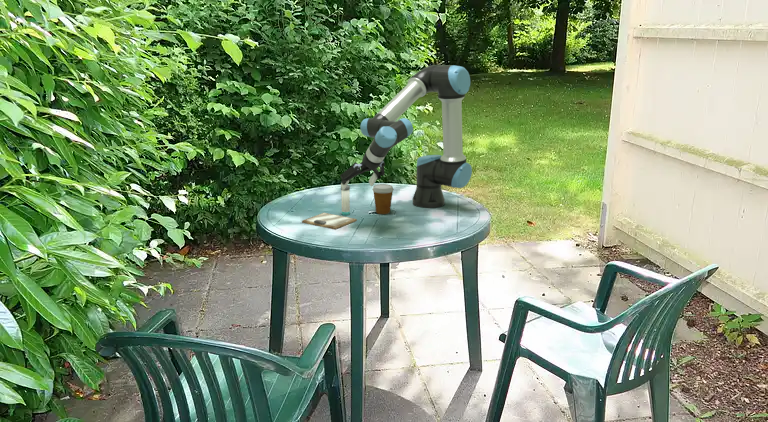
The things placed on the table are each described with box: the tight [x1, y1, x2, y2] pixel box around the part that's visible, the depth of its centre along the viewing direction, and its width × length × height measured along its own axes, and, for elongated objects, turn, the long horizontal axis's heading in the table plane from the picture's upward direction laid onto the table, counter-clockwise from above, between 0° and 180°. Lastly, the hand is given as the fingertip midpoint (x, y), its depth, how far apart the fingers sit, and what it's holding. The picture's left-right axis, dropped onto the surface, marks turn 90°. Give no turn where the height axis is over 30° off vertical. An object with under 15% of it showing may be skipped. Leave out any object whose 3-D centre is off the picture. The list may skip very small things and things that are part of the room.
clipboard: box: [301, 212, 358, 230], centre depth 266 cm, size 18×15×2 cm
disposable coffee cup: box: [372, 183, 394, 215], centre depth 279 cm, size 10×10×12 cm
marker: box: [340, 184, 351, 216], centre depth 276 cm, size 4×4×13 cm
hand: (356, 185), depth 265 cm, fingers open, 13 cm apart
